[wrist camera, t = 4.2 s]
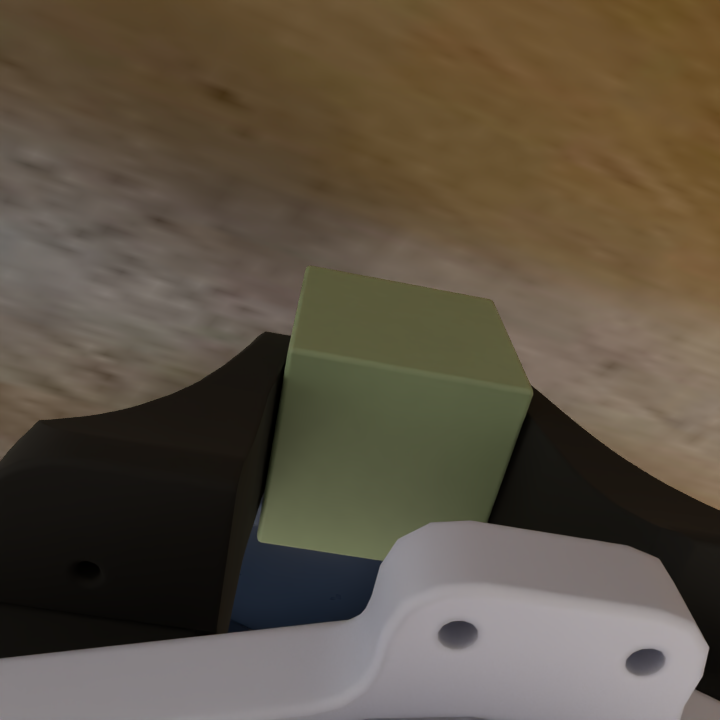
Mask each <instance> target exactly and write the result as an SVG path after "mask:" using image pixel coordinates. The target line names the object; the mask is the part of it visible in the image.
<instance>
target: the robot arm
mask: <svg viewBox="0 0 720 720" xmlns="http://www.w3.org/2000/svg"><path fill="white" fill-rule="evenodd" d="M290 339H291V336H288V335H282V334H277V333H271V332H264V333H263V334H261V335H259V336H258V337H257V338H256V339H255V340H254V341H253V342H252V343H251V344H250V345H249V346H247V347H246V348H245V349H244V350H243V351H242V352H240V353H239V354H238V355H237V356H235V357H234V358H233V359H231V360H230V361H229V362H227V363H226V364H225V365H223V366H222V367H221V368H219V369H218V370H216V371H215V372H213V373H211V374H210V375H208V376H207V377H205V378H204V379H202V380H201V381H199V382H197V383H195V384H193V385H191V386H189V387H187V388H185V389H182V390H180V391H178V392H176V393H173V394H171V395H168V396H165V397H162V398H159V399H156V400H153V401H150V402H147V403H144V404H141V405H138V406H135V407H131V408H127V409H123V410H118V411H114V412H108V413H103V414H98V415H91V416H84V417H73V418H63V419H53V420H39V421H38V422H37V423H36V424H35V425H34V426H33V427H32V428H31V429H30V430H29V431H28V432H27V433H26V434H25V435H24V436H22V437H21V438H20V439H19V440H18V441H17V443H16V444H15V445H14V446H13V447H12V448H11V449H10V450H9V451H8V452H7V454H6V455H5V456H4V457H3V459H2V460H1V461H0V720H720V510H717V509H715V508H713V507H711V506H709V505H706V504H704V503H702V502H700V501H698V500H696V499H694V498H692V497H690V496H688V495H686V494H684V493H682V492H680V491H678V490H676V489H674V488H672V487H670V486H669V485H667V484H665V483H663V482H661V481H660V480H658V479H656V478H654V477H653V476H651V475H649V474H648V473H646V472H644V471H643V470H641V469H640V468H638V467H636V466H635V465H633V464H632V463H630V462H628V461H627V460H625V459H624V458H622V457H621V456H619V455H618V454H616V453H615V452H614V451H612V450H611V449H609V448H608V447H607V446H605V445H604V444H603V443H601V442H600V441H599V440H597V439H596V438H595V437H593V436H592V435H591V434H589V433H588V432H587V431H586V430H584V429H583V428H582V427H581V426H579V425H578V424H577V423H576V422H574V421H573V420H572V419H571V418H570V417H568V416H567V415H566V414H565V413H564V412H562V411H561V410H560V409H559V408H558V407H556V406H555V405H554V404H553V403H552V402H551V401H549V400H548V399H547V398H546V397H545V396H544V395H542V394H541V393H540V392H539V391H537V390H536V389H535V388H534V387H533V386H531V387H532V389H533V396H532V399H531V402H530V405H529V408H528V410H527V413H526V416H525V419H524V422H523V424H522V427H521V430H520V433H519V436H518V438H517V441H516V444H515V447H514V449H513V452H512V455H511V458H510V461H509V463H508V466H507V469H506V472H505V475H504V477H503V480H502V483H501V486H500V489H499V491H498V494H497V497H496V500H495V503H494V505H493V508H492V511H491V514H490V517H489V519H488V522H487V523H483V522H477V521H471V520H468V521H448V522H431V523H429V524H427V525H425V526H423V527H421V528H419V529H417V530H415V531H413V532H411V533H409V534H407V535H405V536H403V537H401V538H399V539H397V541H396V542H395V544H394V545H393V547H392V548H391V550H390V551H389V553H388V554H387V556H386V557H385V559H384V560H383V562H382V563H381V565H380V567H379V571H378V575H377V578H376V582H375V585H374V589H373V593H372V596H371V598H370V600H369V602H368V605H367V607H366V609H365V610H364V611H363V612H362V613H361V614H360V615H358V616H356V617H354V618H352V619H349V620H342V621H333V622H324V623H315V624H306V625H297V626H288V627H279V628H270V629H261V630H252V631H243V632H234V633H228V629H229V624H230V619H231V614H232V609H233V604H234V599H235V594H236V589H237V585H238V580H239V575H240V570H241V565H242V561H243V557H244V554H245V550H246V546H247V543H248V540H249V537H250V533H251V530H252V527H253V524H254V521H255V518H256V515H257V512H258V509H259V506H260V503H261V500H262V496H263V493H264V490H265V484H266V478H267V472H268V466H269V460H270V454H271V448H272V442H273V437H274V431H275V425H276V419H277V413H278V407H279V401H280V395H281V389H282V383H283V377H284V371H285V365H286V359H287V353H288V348H289V343H290Z"/></svg>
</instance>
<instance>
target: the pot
mask: <svg viewBox="0 0 720 720" xmlns="http://www.w3.org/2000/svg"><path fill="white" fill-rule="evenodd" d="M263 496H264V493H263ZM263 496H262V500H261V503H260V506H259V509H258V512H257V515H256V518H255V521H254V524H253V527H252V530H251V533H250V537H249V540H248V543H247V546H246V550H245V554H244V557H243V561H242V565H241V570H240V575H239V580H238V585H237V589H236V594H235V599H234V604H233V609H232V614H231V619H230V624H229V629H228V633H234V632H243V631H252V630H261V629H270V628H279V627H288V626H297V625H306V624H315V623H324V622H333V621H342V620H349V619H352V618H354V617H356V616H358V615H360V614H361V613H362V612H363V611H364V610H365V609H366V607H367V605H368V602H369V600H370V598H371V596H372V593H373V589H374V585H375V582H376V578H377V575H378V571H379V567H380V565H381V563H382V562H383V561H380V560H373V559H367V558H360V557H354V556H347V555H341V554H334V553H328V552H321V551H314V550H308V549H301V548H295V547H288V546H282V545H275V544H269V543H262V542H260V541H258V538H257V532H258V526H259V520H260V514H261V508H262V502H263Z"/></svg>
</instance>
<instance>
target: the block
mask: <svg viewBox="0 0 720 720" xmlns="http://www.w3.org/2000/svg"><path fill="white" fill-rule="evenodd" d="M532 396H533V389H532V387H531V385H530V383H529V380H528V378H527V376H526V374H525V372H524V369H523V367H522V365H521V363H520V360H519V358H518V356H517V354H516V352H515V349H514V347H513V345H512V343H511V340H510V338H509V336H508V334H507V332H506V329H505V327H504V325H503V323H502V320H501V318H500V316H499V314H498V312H497V309H496V307H495V305H494V303H493V301H492V300H490V299H485V298H480V297H475V296H469V295H464V294H459V293H453V292H448V291H443V290H437V289H432V288H427V287H421V286H416V285H411V284H405V283H400V282H395V281H390V280H384V279H379V278H374V277H368V276H363V275H358V274H352V273H347V272H342V271H336V270H331V269H326V268H320V267H315V266H307V268H306V270H305V274H304V279H303V283H302V288H301V293H300V297H299V302H298V306H297V311H296V316H295V320H294V325H293V329H292V334H291V339H290V343H289V348H288V353H287V359H286V365H285V371H284V377H283V383H282V389H281V395H280V401H279V407H278V413H277V419H276V425H275V431H274V437H273V442H272V448H271V454H270V460H269V466H268V472H267V478H266V484H265V490H264V496H263V502H262V508H261V514H260V520H259V526H258V532H257V538H258V541H260V542H262V543H269V544H275V545H282V546H288V547H295V548H301V549H308V550H314V551H321V552H328V553H334V554H341V555H347V556H354V557H360V558H367V559H373V560H380V561H383V560H384V559H385V557H386V556H387V554H388V553H389V551H390V550H391V548H392V547H393V545H394V544H395V542H396V541H397V539H399V538H401V537H403V536H405V535H407V534H409V533H411V532H413V531H415V530H417V529H419V528H421V527H423V526H425V525H427V524H429V523H431V522H448V521H468V520H471V521H477V522H483V523H487V522H488V519H489V517H490V514H491V511H492V508H493V505H494V503H495V500H496V497H497V494H498V491H499V489H500V486H501V483H502V480H503V477H504V475H505V472H506V469H507V466H508V463H509V461H510V458H511V455H512V452H513V449H514V447H515V444H516V441H517V438H518V436H519V433H520V430H521V427H522V424H523V422H524V419H525V416H526V413H527V410H528V408H529V405H530V402H531V399H532Z"/></svg>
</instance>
